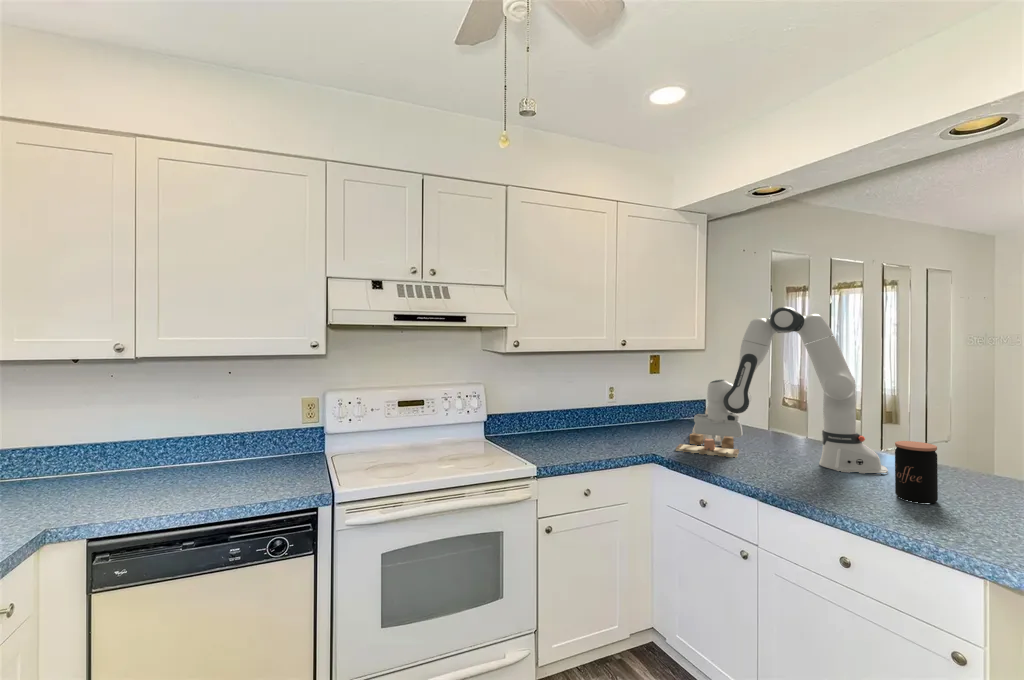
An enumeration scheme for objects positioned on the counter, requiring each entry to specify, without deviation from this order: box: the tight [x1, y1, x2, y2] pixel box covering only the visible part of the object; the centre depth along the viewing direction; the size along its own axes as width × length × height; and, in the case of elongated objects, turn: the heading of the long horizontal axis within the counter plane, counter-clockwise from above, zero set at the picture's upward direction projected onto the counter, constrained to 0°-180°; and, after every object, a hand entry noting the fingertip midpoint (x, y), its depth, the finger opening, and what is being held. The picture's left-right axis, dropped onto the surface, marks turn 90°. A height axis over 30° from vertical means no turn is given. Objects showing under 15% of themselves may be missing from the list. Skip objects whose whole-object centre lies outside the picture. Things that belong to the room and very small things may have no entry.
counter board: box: [675, 443, 740, 459], centre depth 224 cm, size 26×10×2 cm, turn 60°
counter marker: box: [703, 439, 716, 451], centre depth 222 cm, size 4×7×4 cm, turn 150°
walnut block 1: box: [689, 432, 704, 446], centre depth 240 cm, size 5×5×5 cm
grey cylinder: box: [706, 435, 718, 447], centre depth 237 cm, size 5×5×6 cm
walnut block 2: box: [720, 436, 735, 449], centre depth 233 cm, size 5×5×5 cm
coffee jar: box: [894, 440, 939, 504], centre depth 157 cm, size 11×11×18 cm
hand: (718, 445), depth 221 cm, fingers closed
